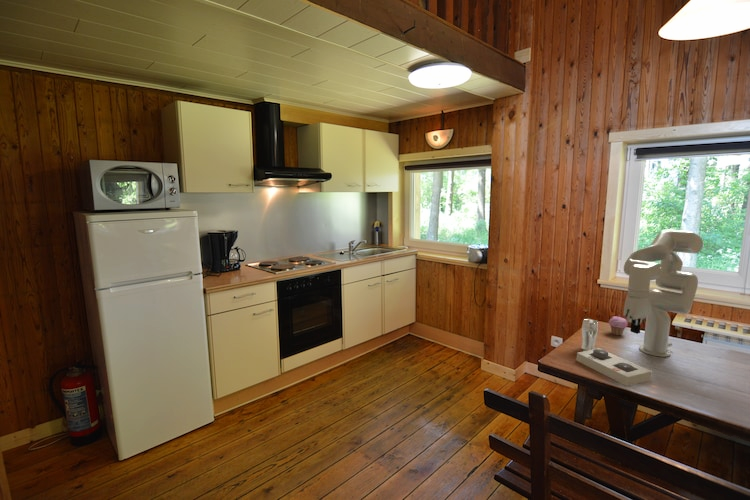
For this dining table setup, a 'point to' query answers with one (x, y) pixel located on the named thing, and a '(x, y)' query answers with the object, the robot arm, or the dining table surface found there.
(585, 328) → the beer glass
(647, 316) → the robot arm
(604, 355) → the button plain
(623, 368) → the button marked
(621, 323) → the cupcake
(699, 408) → the dining table surface
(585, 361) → the button board
